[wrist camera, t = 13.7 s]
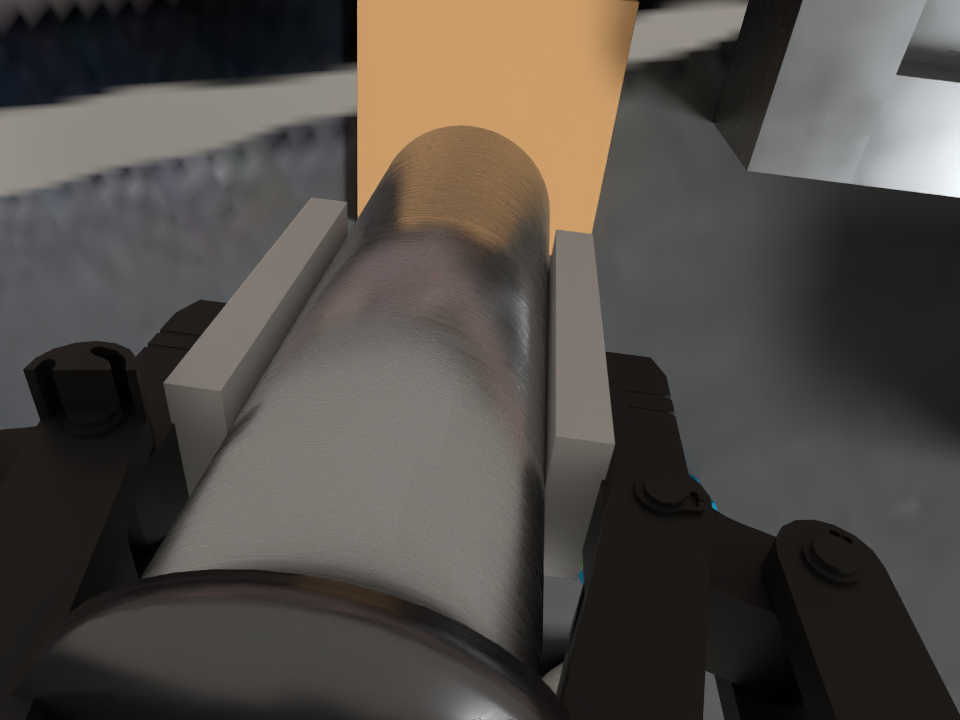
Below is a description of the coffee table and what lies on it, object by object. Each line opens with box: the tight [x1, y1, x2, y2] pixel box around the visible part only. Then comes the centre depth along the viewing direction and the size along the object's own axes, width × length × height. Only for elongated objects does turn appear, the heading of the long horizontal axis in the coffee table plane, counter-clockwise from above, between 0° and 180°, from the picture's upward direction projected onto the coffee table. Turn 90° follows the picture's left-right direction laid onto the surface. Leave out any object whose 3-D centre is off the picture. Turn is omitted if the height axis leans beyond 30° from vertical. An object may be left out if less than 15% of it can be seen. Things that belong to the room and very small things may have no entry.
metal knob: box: [11, 125, 570, 720], centre depth 12 cm, size 5×5×14 cm
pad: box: [357, 0, 639, 255], centre depth 25 cm, size 9×9×1 cm
